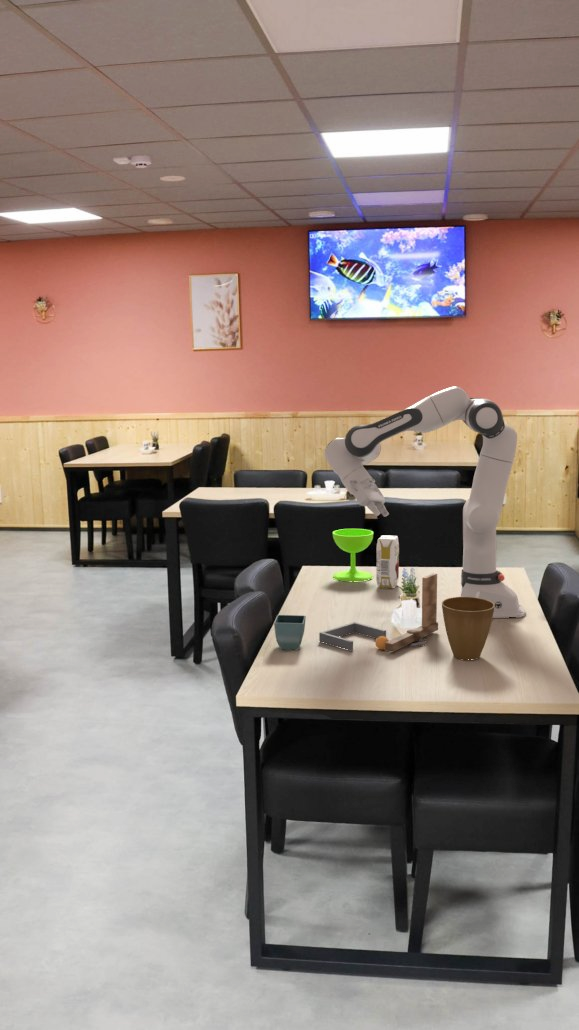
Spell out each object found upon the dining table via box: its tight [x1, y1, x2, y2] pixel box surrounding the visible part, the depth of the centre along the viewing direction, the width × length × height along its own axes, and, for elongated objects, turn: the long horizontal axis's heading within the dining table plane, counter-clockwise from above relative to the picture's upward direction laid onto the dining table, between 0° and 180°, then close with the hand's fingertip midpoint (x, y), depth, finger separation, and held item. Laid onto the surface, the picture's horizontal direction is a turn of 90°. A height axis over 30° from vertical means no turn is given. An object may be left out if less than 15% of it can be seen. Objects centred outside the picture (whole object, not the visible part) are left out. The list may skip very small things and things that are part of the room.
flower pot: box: [273, 614, 307, 650], centre depth 278 cm, size 9×9×9 cm
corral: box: [318, 621, 387, 651], centre depth 285 cm, size 13×16×3 cm
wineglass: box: [332, 528, 374, 583], centre depth 364 cm, size 16×16×18 cm
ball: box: [375, 636, 390, 651], centre depth 276 cm, size 4×4×4 cm
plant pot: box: [441, 596, 495, 661], centre depth 267 cm, size 15×15×16 cm
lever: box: [384, 572, 439, 653], centre depth 280 cm, size 27×4×18 cm, turn 142°
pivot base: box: [406, 637, 428, 647], centre depth 282 cm, size 8×8×1 cm
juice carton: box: [375, 534, 400, 589], centre depth 349 cm, size 8×9×19 cm
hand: (382, 515), depth 303 cm, fingers open, 8 cm apart
